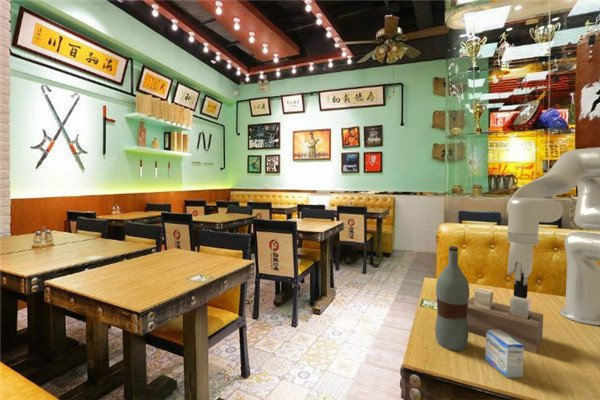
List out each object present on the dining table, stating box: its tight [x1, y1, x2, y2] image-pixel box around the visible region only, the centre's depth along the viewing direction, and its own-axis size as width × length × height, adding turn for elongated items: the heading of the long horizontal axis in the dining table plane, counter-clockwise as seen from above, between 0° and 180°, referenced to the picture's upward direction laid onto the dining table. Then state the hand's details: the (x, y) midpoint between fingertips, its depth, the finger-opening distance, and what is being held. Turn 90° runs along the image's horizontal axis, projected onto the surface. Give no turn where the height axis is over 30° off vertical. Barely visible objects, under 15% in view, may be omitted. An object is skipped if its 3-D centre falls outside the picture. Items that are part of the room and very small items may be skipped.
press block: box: [467, 296, 544, 354], centre depth 96 cm, size 12×20×8 cm, turn 44°
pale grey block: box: [509, 295, 532, 320], centre depth 92 cm, size 4×4×8 cm
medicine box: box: [484, 330, 525, 379], centre depth 78 cm, size 8×4×9 cm, turn 4°
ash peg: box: [474, 287, 494, 310], centre depth 99 cm, size 4×4×8 cm
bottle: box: [434, 245, 470, 352], centre depth 89 cm, size 9×9×30 cm
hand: (520, 296), depth 92 cm, fingers closed
